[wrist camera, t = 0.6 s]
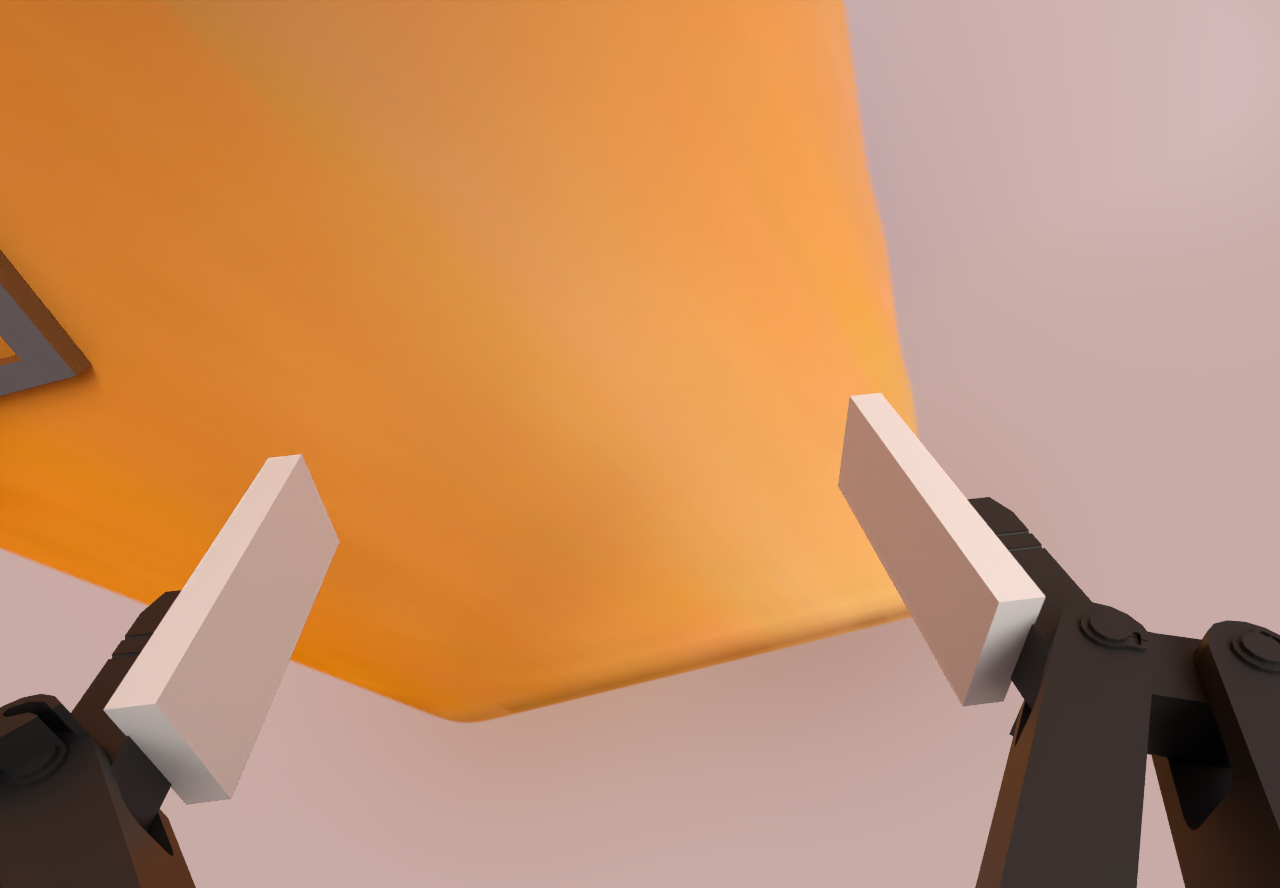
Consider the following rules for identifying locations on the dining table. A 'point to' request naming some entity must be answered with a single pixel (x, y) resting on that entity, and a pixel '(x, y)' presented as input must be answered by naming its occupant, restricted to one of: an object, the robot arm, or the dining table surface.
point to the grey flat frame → (32, 338)
